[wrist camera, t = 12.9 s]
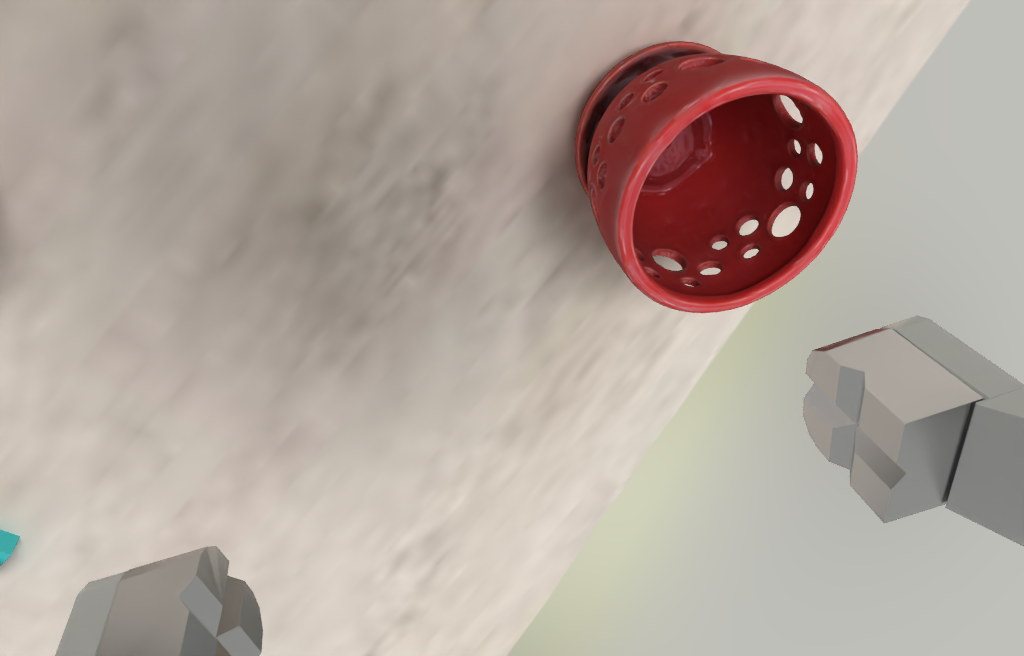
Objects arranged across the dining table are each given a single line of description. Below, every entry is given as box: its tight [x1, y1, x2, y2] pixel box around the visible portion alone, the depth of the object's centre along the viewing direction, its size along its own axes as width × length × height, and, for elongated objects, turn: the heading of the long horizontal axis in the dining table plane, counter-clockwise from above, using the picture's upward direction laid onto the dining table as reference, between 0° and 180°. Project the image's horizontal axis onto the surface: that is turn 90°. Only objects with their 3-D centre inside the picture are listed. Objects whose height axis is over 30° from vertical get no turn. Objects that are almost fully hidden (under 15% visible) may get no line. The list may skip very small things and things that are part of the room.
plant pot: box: [575, 41, 858, 313], centre depth 38 cm, size 13×13×12 cm
